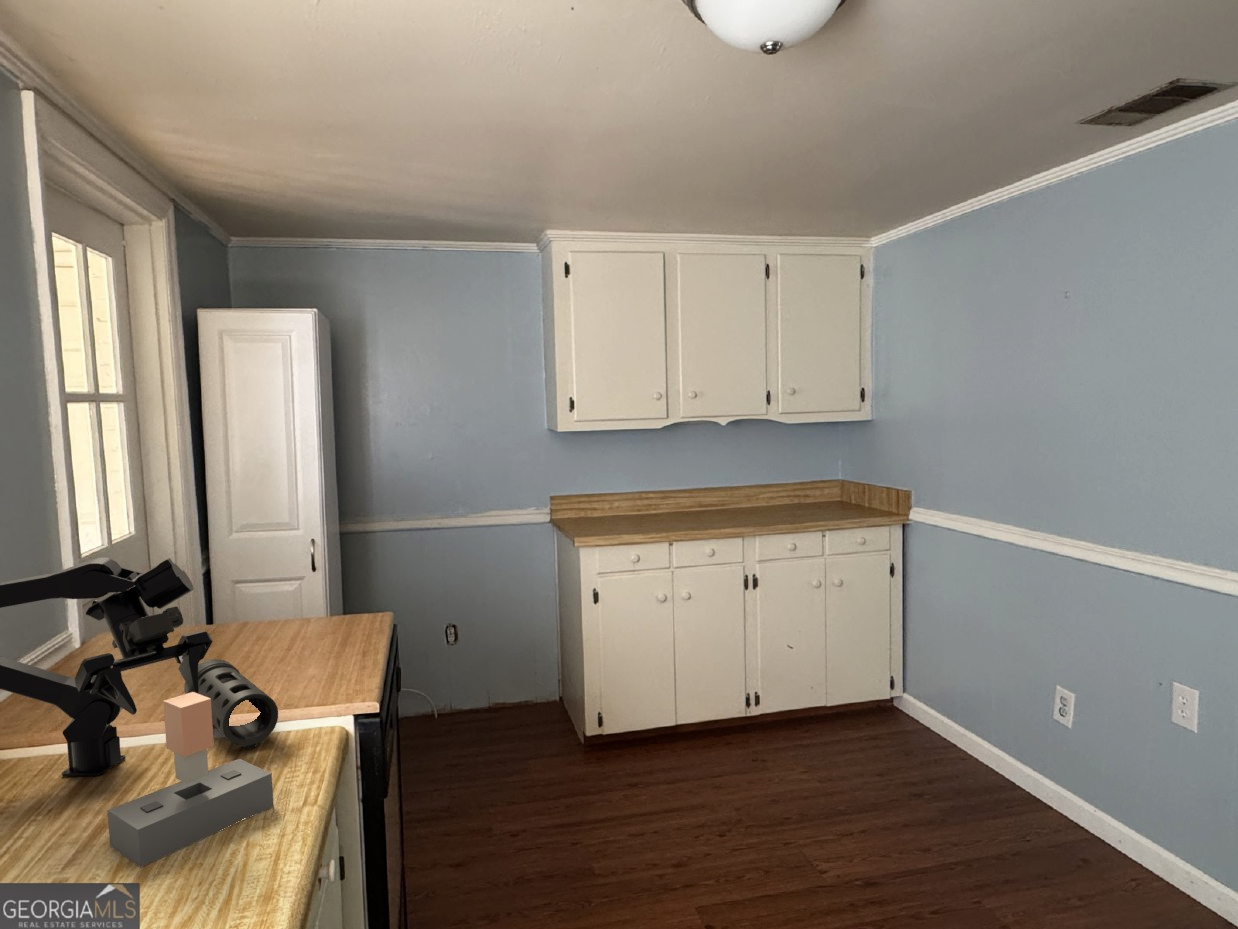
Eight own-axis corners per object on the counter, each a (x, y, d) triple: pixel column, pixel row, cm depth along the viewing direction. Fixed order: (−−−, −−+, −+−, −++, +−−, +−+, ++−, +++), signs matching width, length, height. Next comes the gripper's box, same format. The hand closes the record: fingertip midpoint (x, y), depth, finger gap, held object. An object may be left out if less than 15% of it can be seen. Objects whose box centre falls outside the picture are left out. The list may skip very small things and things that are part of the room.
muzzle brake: (223, 760, 128) (219, 700, 128) (183, 714, 149) (179, 662, 149) (282, 743, 135) (278, 685, 134) (235, 701, 156) (232, 651, 155)
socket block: (109, 846, 103) (107, 808, 103) (241, 790, 118) (238, 757, 117) (140, 867, 98) (137, 828, 97) (273, 806, 112) (271, 772, 112)
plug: (168, 777, 107) (163, 700, 106) (197, 766, 110) (193, 691, 109) (186, 787, 104) (180, 708, 103) (215, 775, 107) (210, 698, 107)
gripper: (76, 607, 115) (114, 693, 109) (203, 583, 130) (241, 657, 124) (59, 650, 120) (94, 735, 114) (183, 622, 135) (219, 695, 129)
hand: (166, 703), depth 120 cm, fingers open, 9 cm apart
